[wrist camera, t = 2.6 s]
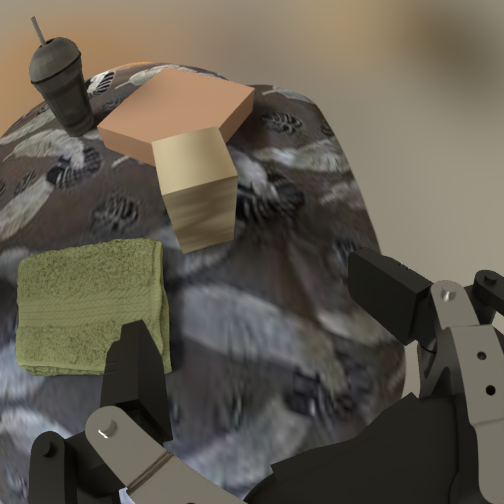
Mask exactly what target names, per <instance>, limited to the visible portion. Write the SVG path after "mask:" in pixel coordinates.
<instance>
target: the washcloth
mask: <svg viewBox="0 0 504 504" xmlns="http://www.w3.org/2000/svg"><path fill="white" fill-rule="evenodd" d="M162 259H163V243H162V242H160V241H157V240H153V239H151V238H147V239H144V238H139V237H138V238H137V239H133V238H132V239H131V240H130V239H126V240H123V239H116V240H111V241H110V242H108V243H106V242H103V243H101V242H99V243H98V244H97V245H94V244H92V245H91V244H90V245H84V246H81V247H79V246H77V247H75V248H73V247H69V248H67V249H64V250H63V249H61V250H59V251H56V250H50V251H48V252H47V251H45V252H43V253H42V254H37V255H36V256H33V257H31V256H29V257H28V258H26V259H23V260H22V261H21V262H20V264H19V267H18V282H17V285H18V288H17V304H18V305H19V325H18V329H17V330H16V347H15V351H16V359H17V364H18V365H20V366H21V367H22V368H23V370H26V371H28V372H29V373H30V374H32V375H34V376H38V375H43V376H45V377H47V376H51V375H54V376H56V375H60V374H66V375H67V374H70V375H71V374H73V375H76V374H78V375H80V374H81V375H85V374H97V375H102V374H104V369H105V366H106V364H105V362H106V355H107V352H108V350H109V348H110V347H111V345H112V343H113V342H114V341H118V340H120V335H121V328H122V325H123V324H126V323H130V322H133V321H137V320H141V319H142V320H143V321H144V322H145V324H146V326H147V328H148V330H149V332H150V334H151V336H152V338H153V340H154V342H155V344H156V346H157V348H158V350H159V352H160V354H161V357H162V360H163V364H164V373H165V374H167V373H170V372H172V369H171V362H170V351H169V305H168V300H167V296H166V292H165V290H164V284H163V264H162Z"/></svg>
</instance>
